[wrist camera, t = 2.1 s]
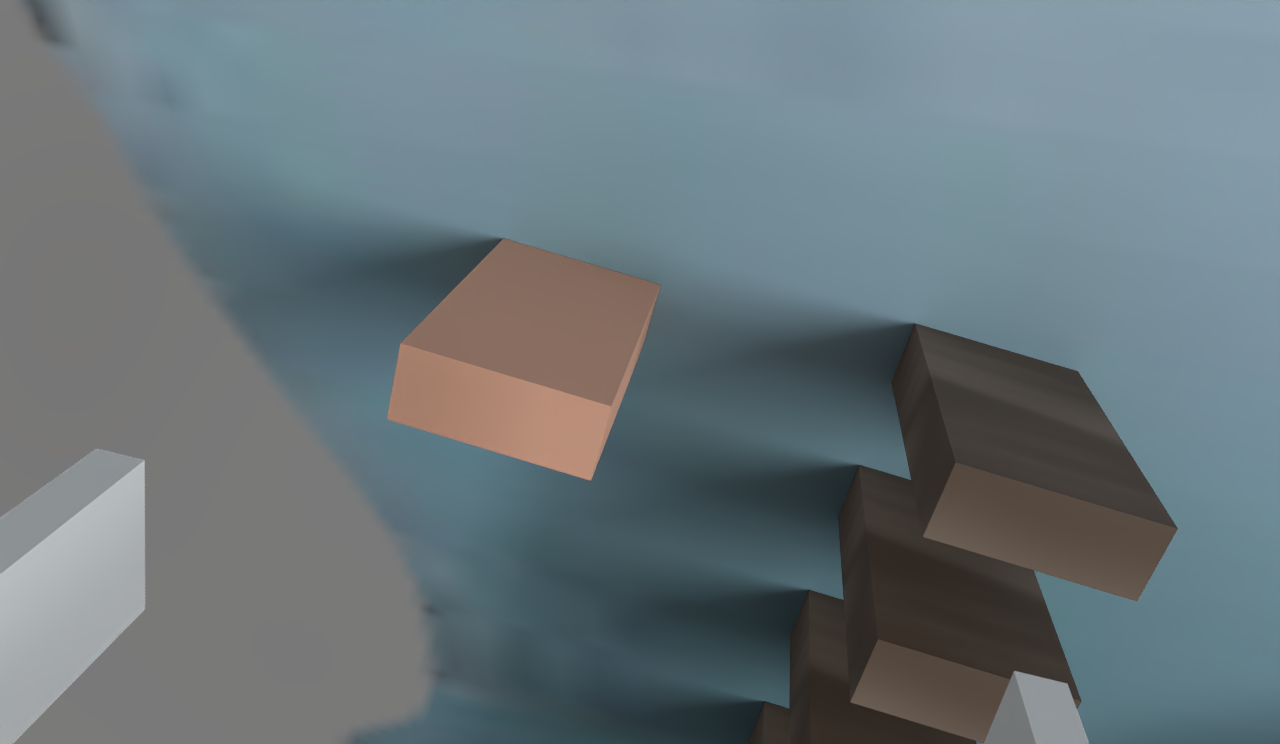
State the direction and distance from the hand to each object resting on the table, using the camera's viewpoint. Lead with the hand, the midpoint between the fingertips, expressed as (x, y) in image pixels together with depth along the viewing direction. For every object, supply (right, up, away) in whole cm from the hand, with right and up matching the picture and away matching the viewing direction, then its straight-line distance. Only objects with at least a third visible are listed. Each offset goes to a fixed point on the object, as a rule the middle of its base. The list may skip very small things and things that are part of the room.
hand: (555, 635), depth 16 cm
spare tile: (-1, +6, +17) cm, 18 cm away
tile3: (+10, -1, +18) cm, 21 cm away
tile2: (+12, +4, +16) cm, 20 cm away
